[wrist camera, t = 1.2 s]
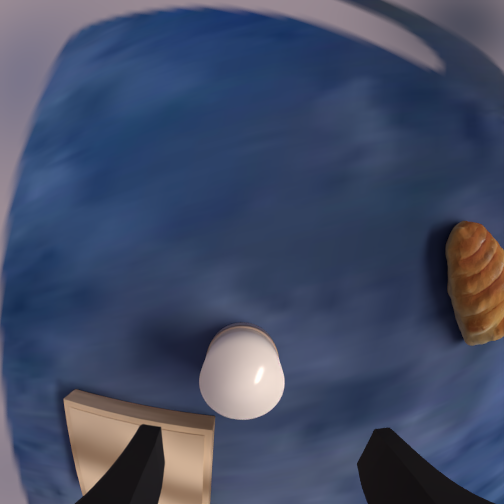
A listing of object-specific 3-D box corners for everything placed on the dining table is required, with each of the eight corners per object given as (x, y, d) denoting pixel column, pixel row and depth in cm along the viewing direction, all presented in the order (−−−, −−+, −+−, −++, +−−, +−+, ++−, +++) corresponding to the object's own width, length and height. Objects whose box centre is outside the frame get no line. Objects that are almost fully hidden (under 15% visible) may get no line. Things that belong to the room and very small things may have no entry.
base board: (209, 512, 21) (207, 528, 19) (91, 487, 20) (83, 500, 18) (215, 416, 21) (212, 431, 19) (75, 388, 20) (62, 399, 18)
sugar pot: (272, 386, 21) (279, 422, 16) (206, 381, 21) (196, 415, 16) (280, 324, 21) (290, 347, 16) (210, 318, 21) (200, 339, 16)
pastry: (420, 249, 21) (449, 249, 17) (474, 205, 21) (504, 200, 17) (461, 348, 21) (489, 361, 17) (509, 300, 21) (537, 306, 18)
